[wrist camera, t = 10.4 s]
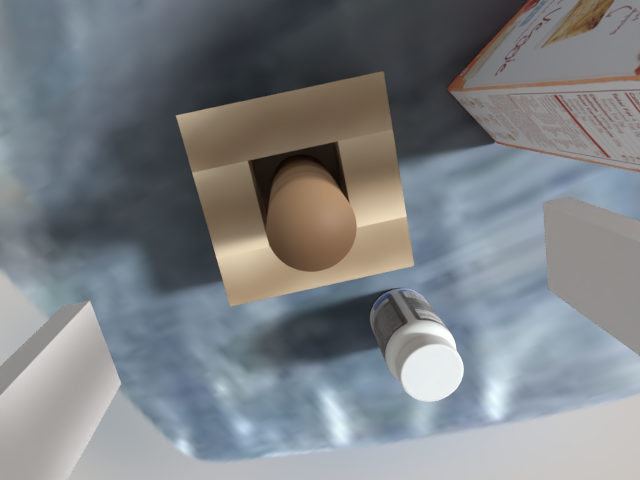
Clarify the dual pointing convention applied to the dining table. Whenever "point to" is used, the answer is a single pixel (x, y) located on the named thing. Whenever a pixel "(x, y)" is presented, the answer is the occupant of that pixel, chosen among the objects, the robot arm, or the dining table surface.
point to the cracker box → (561, 81)
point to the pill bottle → (416, 345)
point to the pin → (308, 216)
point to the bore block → (264, 157)
